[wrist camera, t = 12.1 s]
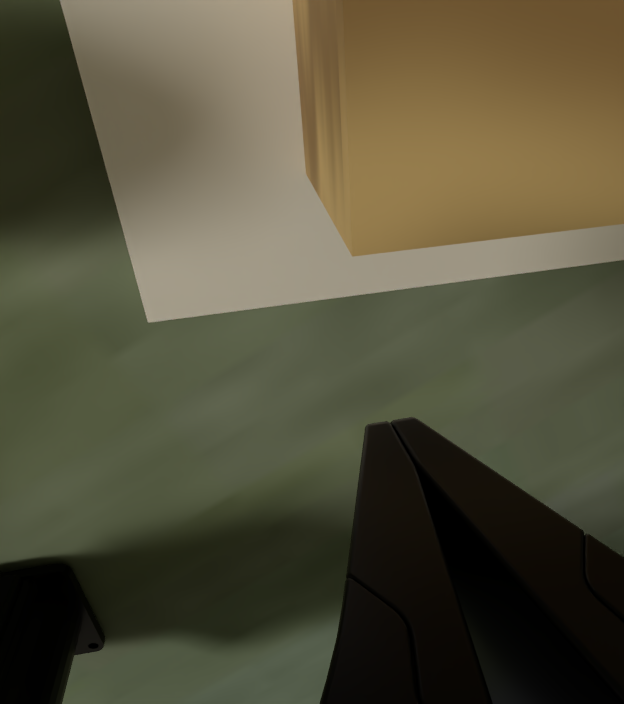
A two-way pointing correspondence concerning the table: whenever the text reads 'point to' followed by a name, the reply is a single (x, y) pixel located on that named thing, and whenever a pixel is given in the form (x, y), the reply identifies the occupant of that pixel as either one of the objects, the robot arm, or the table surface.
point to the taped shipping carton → (462, 117)
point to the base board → (244, 167)
